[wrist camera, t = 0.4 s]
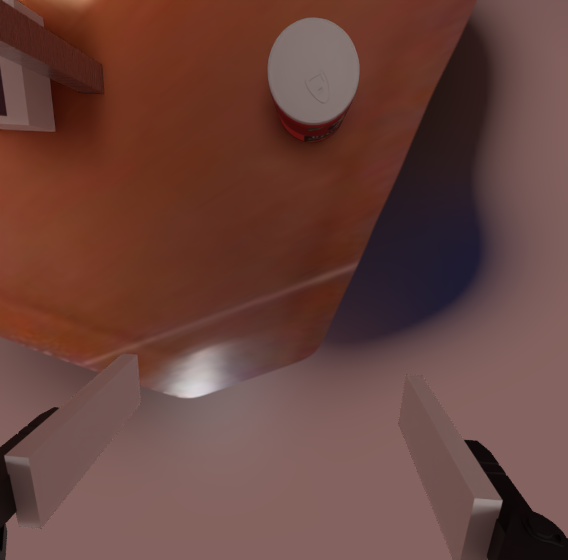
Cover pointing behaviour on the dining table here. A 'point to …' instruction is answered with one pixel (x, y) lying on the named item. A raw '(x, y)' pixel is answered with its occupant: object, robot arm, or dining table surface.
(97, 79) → the slate blue panel
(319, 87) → the canned food
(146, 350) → the dining table surface
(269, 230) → the dining table surface
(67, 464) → the robot arm
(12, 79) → the socket block
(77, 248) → the dining table surface
